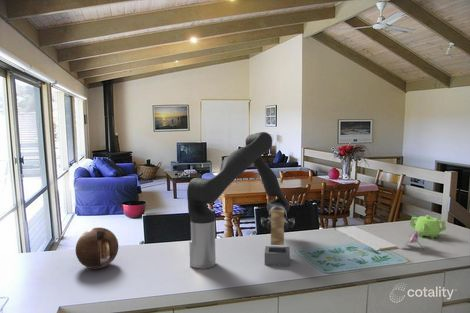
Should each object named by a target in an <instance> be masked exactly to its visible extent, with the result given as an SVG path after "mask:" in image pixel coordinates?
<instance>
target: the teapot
mask: <svg viewBox="0 0 470 313" xmlns="http://www.w3.org/2000/svg"><path fill="white" fill-rule="evenodd" d="M440 224H441V225H440ZM409 225H410V226H411V227H412V228H414V231H415V232H417V231H418V232H419V233H418V237H420V238H423V237H424V236H425V237H429V239H432V240H435V237H436V238H437V237H438V236H439V234H440V233H441V232H443V231H446V229H447V228H446V227H447V226H446V221H445V220H439V219H438V218H436V217H432V216H431V215H428V214H426V215H425V216H422V215H421V216H419V217H418V216H417V217H416V216H411V219H410V222H409ZM440 226H441V227H440ZM420 229H421V230H420ZM419 230H420V231H419Z"/></svg>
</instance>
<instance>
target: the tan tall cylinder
mask: <svg viewBox="0 0 470 313" xmlns="http://www.w3.org/2000/svg"><path fill="white" fill-rule="evenodd" d="M270 246H285V231H284V210H271V230H270Z"/></svg>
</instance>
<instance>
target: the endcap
mask: <svg viewBox="0 0 470 313" xmlns="http://www.w3.org/2000/svg"><path fill="white" fill-rule="evenodd" d="M290 251H291V250H290V246H280V245H265V246H264V266H277V267H279V266H280V267H290V266H291V265H290V264H291V262H290V261H291V260H290V259H291V254H290V253H291V252H290Z"/></svg>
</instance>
